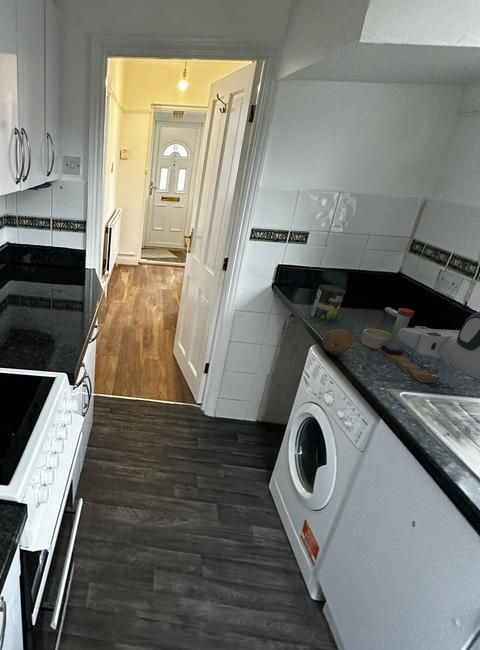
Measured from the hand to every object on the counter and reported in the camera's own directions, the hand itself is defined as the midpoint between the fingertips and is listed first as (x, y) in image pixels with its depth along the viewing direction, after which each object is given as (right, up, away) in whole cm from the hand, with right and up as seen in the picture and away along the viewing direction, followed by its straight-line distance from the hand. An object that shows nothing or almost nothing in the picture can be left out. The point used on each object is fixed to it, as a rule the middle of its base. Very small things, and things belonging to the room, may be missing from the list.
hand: (418, 328), depth 137 cm
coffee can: (-7, +5, +45) cm, 46 cm away
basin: (-1, -6, +20) cm, 21 cm away
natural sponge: (-23, -9, +11) cm, 27 cm away
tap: (-1, -7, +15) cm, 17 cm away
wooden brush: (-1, -13, +5) cm, 14 cm away
